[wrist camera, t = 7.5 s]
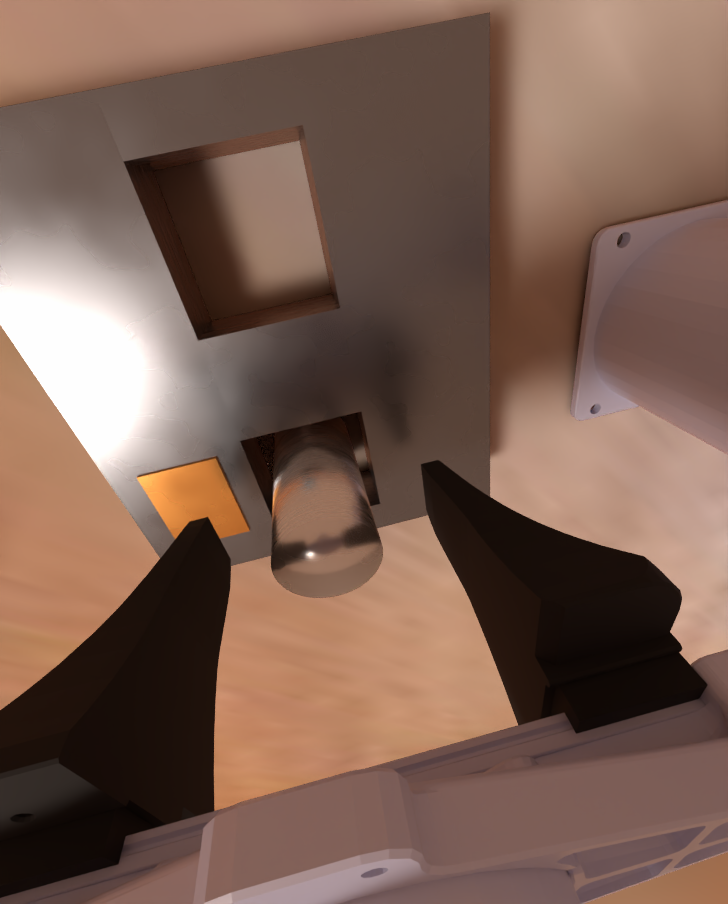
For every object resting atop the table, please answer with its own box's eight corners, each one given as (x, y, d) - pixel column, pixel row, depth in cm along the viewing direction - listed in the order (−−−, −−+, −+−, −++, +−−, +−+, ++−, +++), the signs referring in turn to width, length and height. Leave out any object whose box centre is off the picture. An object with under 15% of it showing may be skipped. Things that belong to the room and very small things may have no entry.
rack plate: (451, 49, 11) (491, 10, 9) (467, 467, 19) (490, 500, 17) (-48, 148, 10) (-135, 132, 8) (187, 538, 19) (174, 582, 16)
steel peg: (336, 396, 16) (367, 502, 10) (356, 457, 18) (393, 578, 12) (262, 420, 16) (252, 540, 10) (290, 478, 18) (294, 610, 12)
